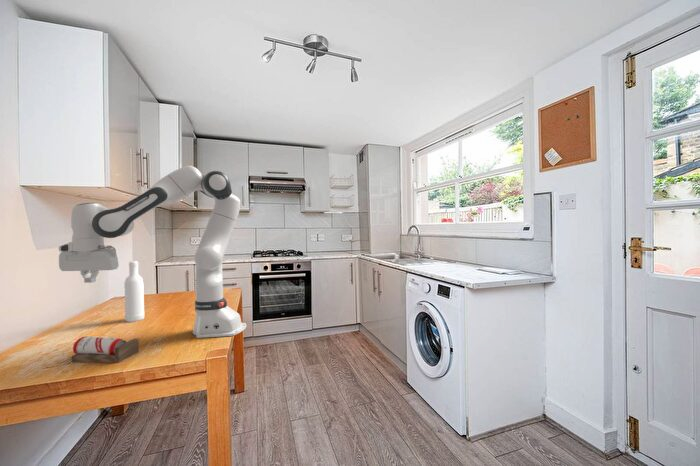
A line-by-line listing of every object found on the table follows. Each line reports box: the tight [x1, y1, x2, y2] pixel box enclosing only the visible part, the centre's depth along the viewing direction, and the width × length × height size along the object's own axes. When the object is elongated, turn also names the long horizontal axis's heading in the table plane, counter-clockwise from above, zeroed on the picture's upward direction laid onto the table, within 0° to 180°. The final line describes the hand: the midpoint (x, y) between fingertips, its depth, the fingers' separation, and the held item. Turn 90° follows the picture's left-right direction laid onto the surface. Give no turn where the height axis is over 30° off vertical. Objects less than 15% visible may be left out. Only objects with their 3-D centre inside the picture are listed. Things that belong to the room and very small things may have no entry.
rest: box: [70, 338, 140, 363], centre depth 102 cm, size 18×8×5 cm, turn 87°
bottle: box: [123, 260, 146, 323], centre depth 144 cm, size 8×8×30 cm
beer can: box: [72, 335, 127, 355], centre depth 102 cm, size 6×6×16 cm
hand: (90, 282), depth 106 cm, fingers closed
